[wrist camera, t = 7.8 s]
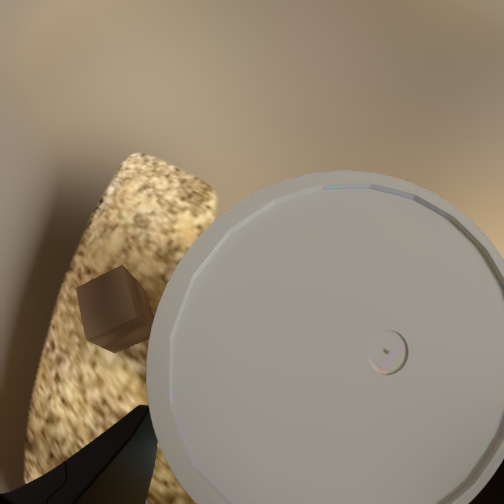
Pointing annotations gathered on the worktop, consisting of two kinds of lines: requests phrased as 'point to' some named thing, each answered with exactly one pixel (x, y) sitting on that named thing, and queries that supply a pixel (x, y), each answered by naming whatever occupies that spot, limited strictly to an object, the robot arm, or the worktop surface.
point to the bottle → (332, 349)
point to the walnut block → (115, 310)
